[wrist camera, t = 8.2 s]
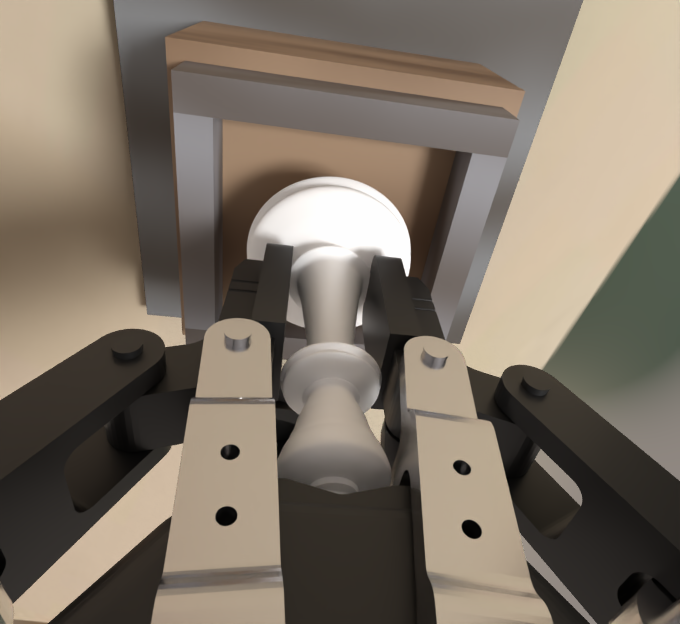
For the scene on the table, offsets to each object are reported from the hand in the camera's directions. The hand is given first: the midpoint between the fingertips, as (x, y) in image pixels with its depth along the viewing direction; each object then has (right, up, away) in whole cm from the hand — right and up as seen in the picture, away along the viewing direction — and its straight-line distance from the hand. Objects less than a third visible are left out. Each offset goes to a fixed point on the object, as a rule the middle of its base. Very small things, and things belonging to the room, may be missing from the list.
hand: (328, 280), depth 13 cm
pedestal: (0, +5, +8) cm, 9 cm away
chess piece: (0, +1, +2) cm, 2 cm away
